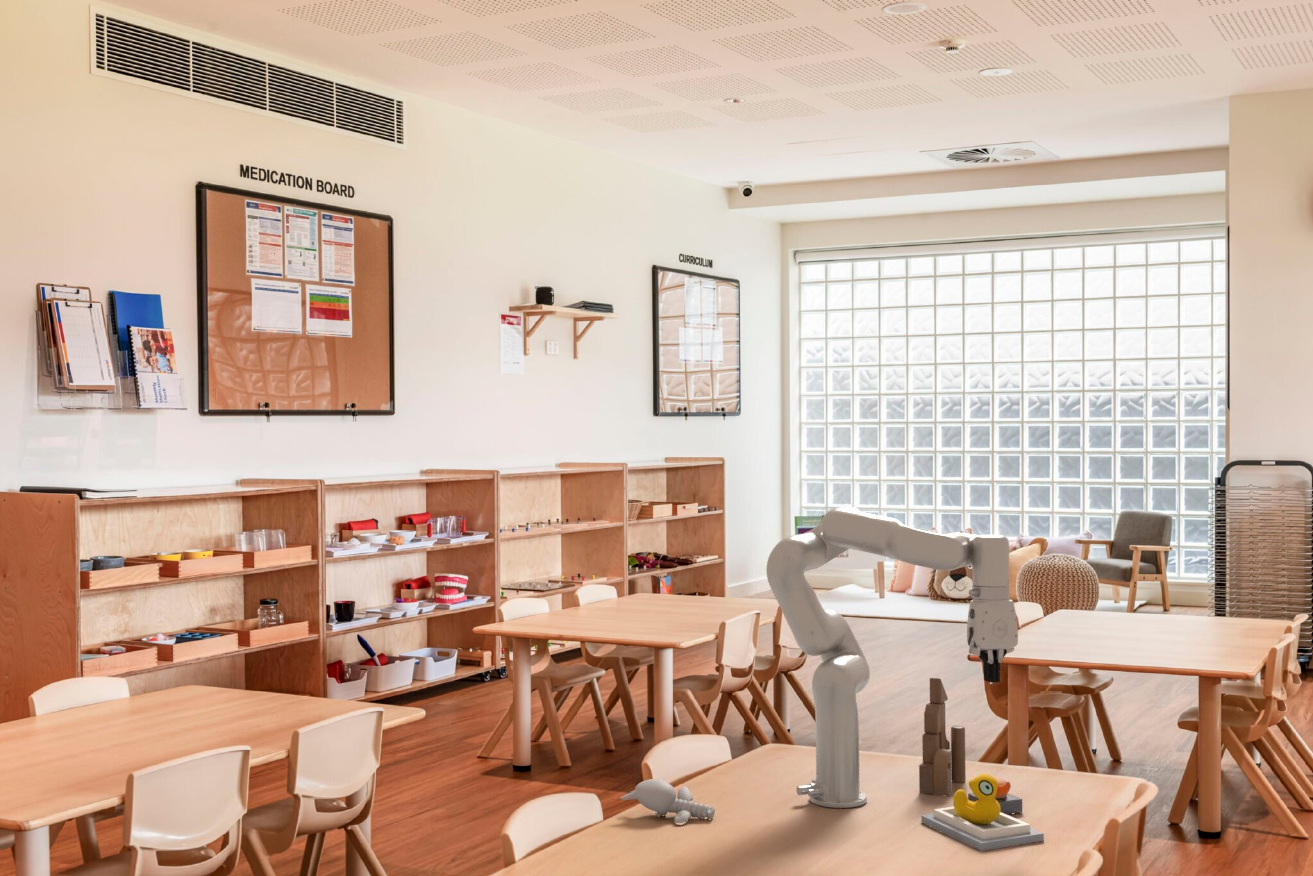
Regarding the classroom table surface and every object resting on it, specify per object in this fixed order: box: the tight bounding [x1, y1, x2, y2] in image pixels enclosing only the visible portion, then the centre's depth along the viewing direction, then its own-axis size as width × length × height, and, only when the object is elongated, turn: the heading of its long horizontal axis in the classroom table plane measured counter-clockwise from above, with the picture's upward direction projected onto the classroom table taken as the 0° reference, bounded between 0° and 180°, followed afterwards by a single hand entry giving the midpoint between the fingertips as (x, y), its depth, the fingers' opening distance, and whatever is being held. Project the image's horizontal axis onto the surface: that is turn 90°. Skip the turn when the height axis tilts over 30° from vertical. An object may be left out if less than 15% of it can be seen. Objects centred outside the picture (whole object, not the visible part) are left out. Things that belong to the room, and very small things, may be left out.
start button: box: [995, 778, 1008, 799], centre depth 266 cm, size 5×5×3 cm
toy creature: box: [619, 778, 716, 823], centre depth 263 cm, size 13×7×20 cm
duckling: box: [952, 773, 1011, 824], centre depth 252 cm, size 11×5×10 cm, turn 70°
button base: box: [967, 792, 1023, 815], centre depth 266 cm, size 8×8×3 cm
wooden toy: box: [918, 677, 966, 797], centre depth 285 cm, size 16×7×25 cm, turn 150°
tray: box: [920, 806, 1045, 852], centre depth 251 cm, size 15×20×3 cm
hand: (991, 681), depth 259 cm, fingers closed
